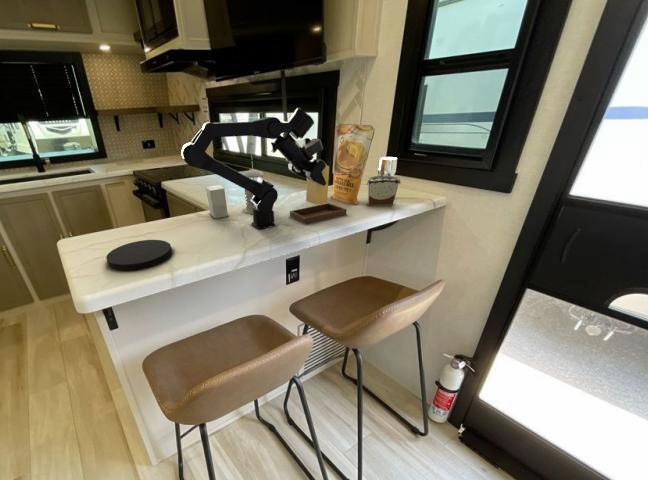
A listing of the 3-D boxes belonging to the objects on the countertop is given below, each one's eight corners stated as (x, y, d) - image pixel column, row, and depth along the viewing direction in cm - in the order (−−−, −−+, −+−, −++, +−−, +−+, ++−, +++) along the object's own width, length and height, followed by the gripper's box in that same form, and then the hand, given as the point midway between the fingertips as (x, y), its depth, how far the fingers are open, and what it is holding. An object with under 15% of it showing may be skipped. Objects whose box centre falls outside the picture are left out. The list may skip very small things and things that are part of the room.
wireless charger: (160, 241, 101) (158, 235, 100) (181, 257, 89) (180, 251, 88) (102, 256, 92) (100, 250, 91) (117, 277, 80) (114, 270, 79)
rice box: (315, 204, 108) (316, 167, 101) (306, 201, 112) (306, 165, 106) (327, 202, 110) (329, 166, 103) (317, 199, 114) (318, 164, 108)
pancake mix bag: (338, 194, 139) (342, 123, 124) (368, 203, 124) (377, 124, 110) (326, 197, 137) (329, 124, 122) (354, 206, 122) (362, 125, 107)
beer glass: (393, 195, 133) (399, 157, 125) (389, 199, 128) (395, 159, 120) (377, 193, 137) (382, 156, 129) (372, 197, 132) (377, 159, 124)
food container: (393, 200, 126) (397, 174, 120) (397, 205, 121) (401, 178, 115) (362, 201, 127) (365, 176, 122) (364, 205, 122) (367, 179, 117)
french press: (258, 205, 131) (253, 139, 118) (275, 210, 123) (272, 140, 110) (239, 210, 126) (231, 142, 113) (255, 216, 118) (249, 143, 105)
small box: (228, 216, 120) (224, 188, 114) (214, 218, 118) (209, 190, 113) (223, 211, 126) (219, 184, 121) (209, 213, 125) (205, 186, 119)
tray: (305, 224, 107) (305, 218, 106) (289, 217, 115) (289, 211, 114) (346, 215, 113) (346, 209, 112) (328, 208, 121) (328, 202, 120)
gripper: (322, 130, 90) (351, 167, 99) (296, 128, 105) (323, 160, 114) (297, 162, 92) (328, 195, 101) (275, 155, 107) (303, 185, 116)
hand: (320, 182), depth 108 cm, fingers closed on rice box, 6 cm apart
